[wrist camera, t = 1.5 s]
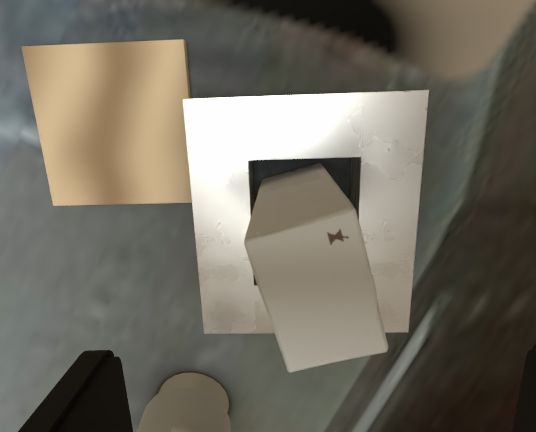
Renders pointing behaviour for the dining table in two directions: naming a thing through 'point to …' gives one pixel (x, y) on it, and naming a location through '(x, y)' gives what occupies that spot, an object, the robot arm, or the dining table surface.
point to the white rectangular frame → (304, 147)
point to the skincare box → (313, 270)
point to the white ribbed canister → (187, 406)
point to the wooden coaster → (112, 120)
